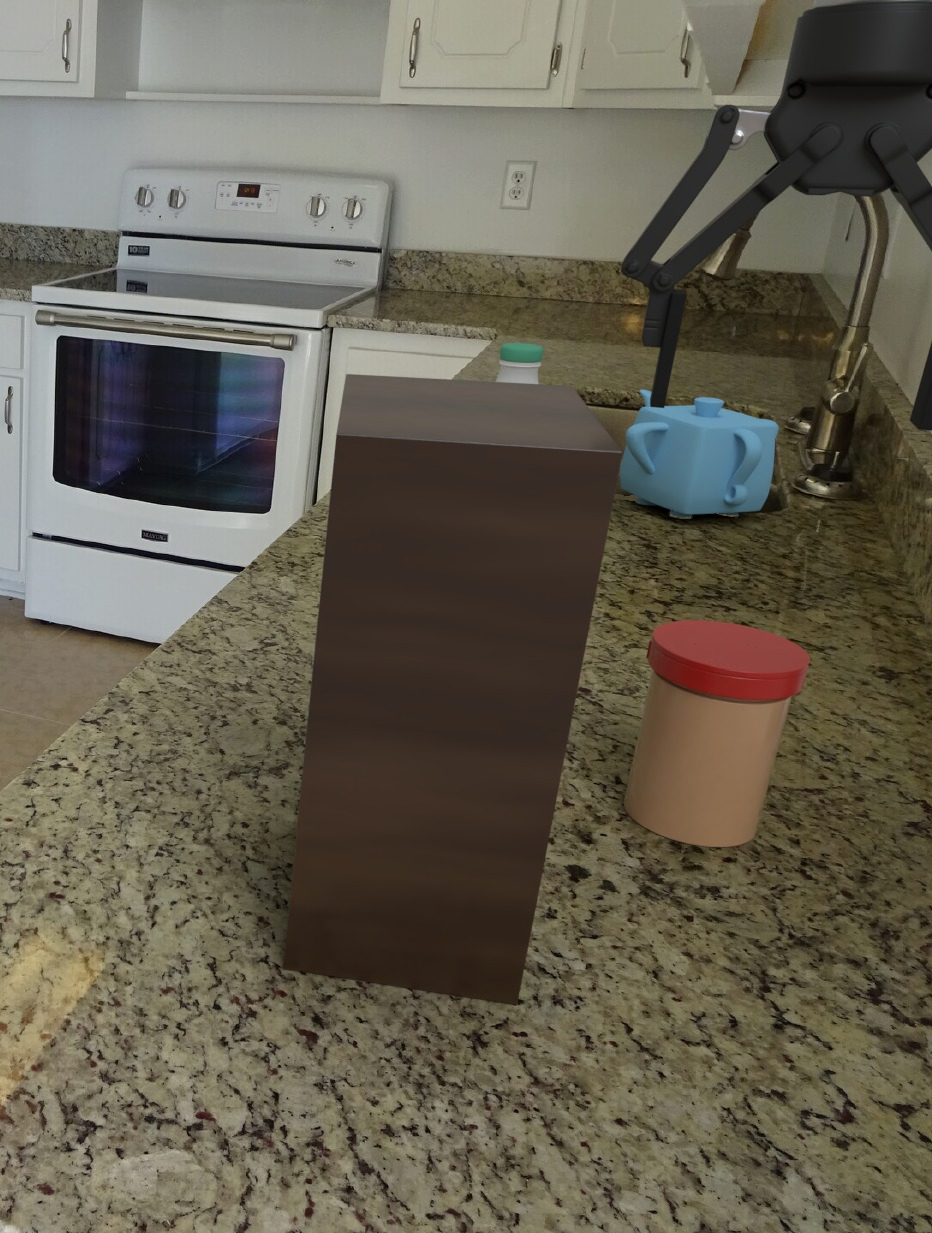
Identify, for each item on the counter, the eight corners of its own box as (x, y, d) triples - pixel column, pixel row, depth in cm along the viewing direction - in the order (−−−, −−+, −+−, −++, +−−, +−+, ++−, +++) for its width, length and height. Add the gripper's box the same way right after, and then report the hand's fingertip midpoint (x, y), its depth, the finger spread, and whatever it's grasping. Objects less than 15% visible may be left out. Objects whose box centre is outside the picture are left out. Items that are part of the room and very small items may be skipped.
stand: (517, 1005, 64) (623, 451, 53) (282, 969, 67) (336, 433, 56) (492, 847, 79) (572, 385, 67) (300, 822, 81) (346, 373, 70)
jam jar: (751, 801, 85) (792, 644, 80) (761, 858, 78) (806, 690, 73) (624, 777, 88) (656, 625, 83) (622, 830, 81) (657, 668, 76)
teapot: (776, 507, 154) (803, 398, 149) (745, 536, 142) (772, 418, 137) (623, 482, 164) (643, 379, 159) (582, 507, 153) (602, 397, 148)
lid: (644, 684, 77) (650, 657, 76) (646, 636, 84) (651, 611, 83) (809, 711, 73) (817, 683, 73) (796, 659, 81) (802, 633, 80)
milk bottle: (531, 527, 144) (559, 352, 137) (461, 520, 147) (486, 348, 139) (530, 510, 151) (557, 342, 143) (464, 504, 153) (487, 338, 146)
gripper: (1157, 4, 63) (1025, 422, 71) (622, 15, 72) (560, 385, 80) (1215, -12, 56) (1063, 450, 65) (620, 3, 66) (552, 406, 74)
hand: (784, 415), depth 72 cm, fingers open, 13 cm apart
